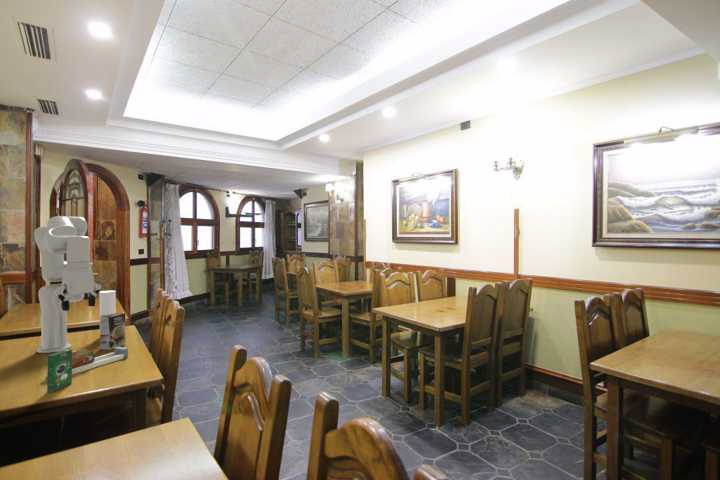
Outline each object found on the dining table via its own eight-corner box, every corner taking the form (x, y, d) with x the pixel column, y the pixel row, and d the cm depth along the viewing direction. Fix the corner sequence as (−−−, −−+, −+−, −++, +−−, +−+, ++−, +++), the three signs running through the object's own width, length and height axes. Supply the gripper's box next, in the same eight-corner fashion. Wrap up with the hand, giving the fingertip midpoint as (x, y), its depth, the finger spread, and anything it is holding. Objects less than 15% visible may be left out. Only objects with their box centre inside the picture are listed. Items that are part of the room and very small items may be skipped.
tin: (50, 379, 141) (50, 357, 141) (47, 377, 143) (47, 356, 143) (95, 367, 154) (94, 347, 154) (91, 365, 156) (91, 346, 156)
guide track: (47, 376, 144) (47, 366, 143) (118, 355, 169) (118, 346, 169) (57, 379, 141) (57, 369, 141) (127, 357, 167) (127, 348, 167)
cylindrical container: (109, 339, 195) (109, 292, 195) (96, 339, 195) (96, 292, 195) (118, 335, 202) (118, 290, 202) (106, 335, 202) (105, 290, 202)
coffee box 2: (110, 350, 176) (110, 317, 176) (99, 349, 178) (99, 316, 177) (126, 344, 185) (126, 313, 185) (115, 343, 187) (115, 312, 186)
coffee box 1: (65, 383, 138) (65, 348, 137) (73, 383, 137) (72, 348, 137) (46, 392, 129) (46, 355, 129) (54, 392, 129) (54, 355, 129)
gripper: (94, 264, 157) (95, 304, 157) (48, 267, 141) (48, 311, 141) (106, 264, 155) (106, 305, 155) (60, 268, 139) (61, 313, 139)
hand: (79, 308), depth 148 cm, fingers open, 9 cm apart
